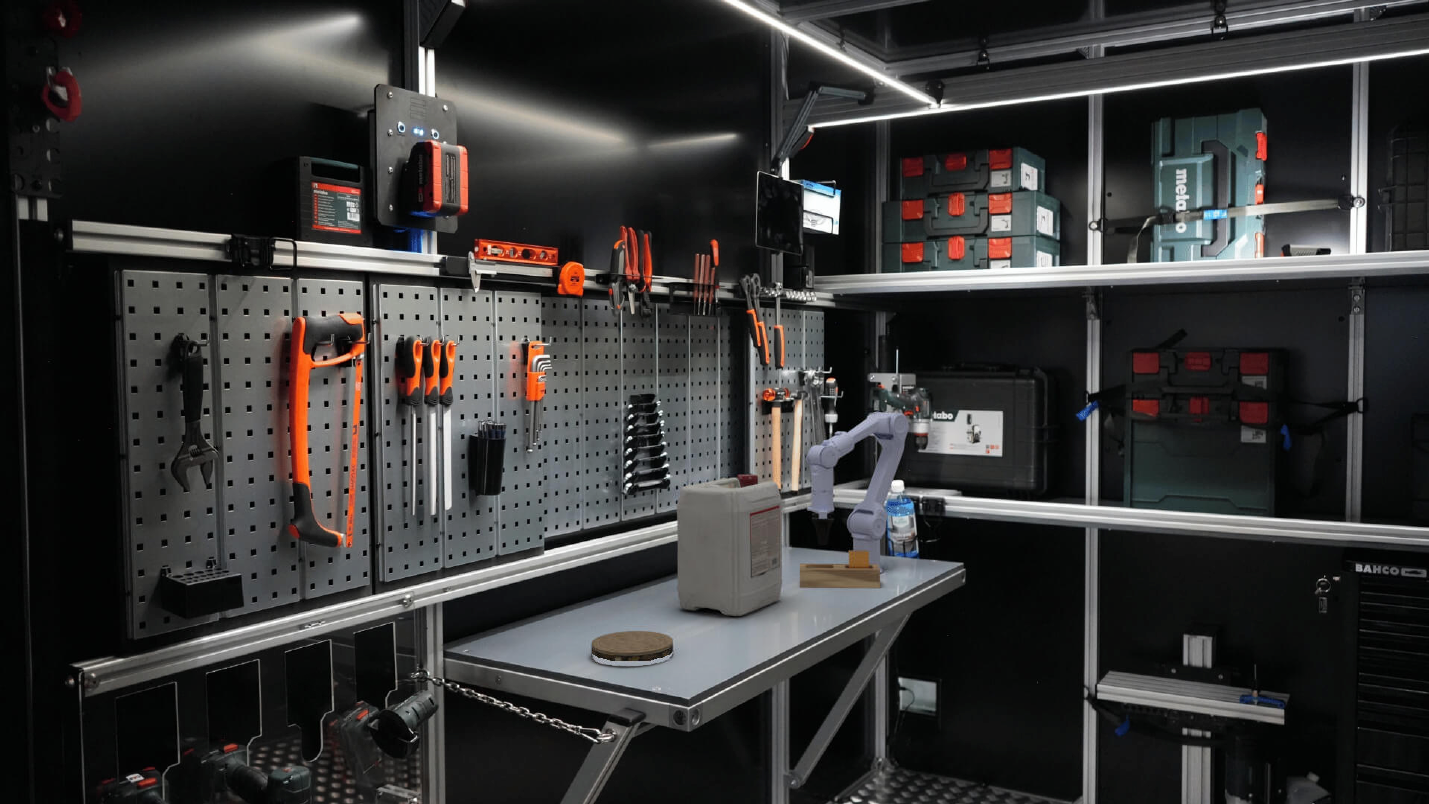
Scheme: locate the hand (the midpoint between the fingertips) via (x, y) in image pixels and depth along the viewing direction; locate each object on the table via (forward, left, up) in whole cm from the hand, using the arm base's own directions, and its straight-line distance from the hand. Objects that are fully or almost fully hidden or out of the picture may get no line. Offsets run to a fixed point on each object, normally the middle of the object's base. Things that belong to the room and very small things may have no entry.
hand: (822, 542), depth 267 cm
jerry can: (+32, -22, -10) cm, 40 cm away
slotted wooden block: (+8, +4, -9) cm, 13 cm away
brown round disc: (+74, -38, -10) cm, 84 cm away
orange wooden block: (+8, +9, -8) cm, 14 cm away
